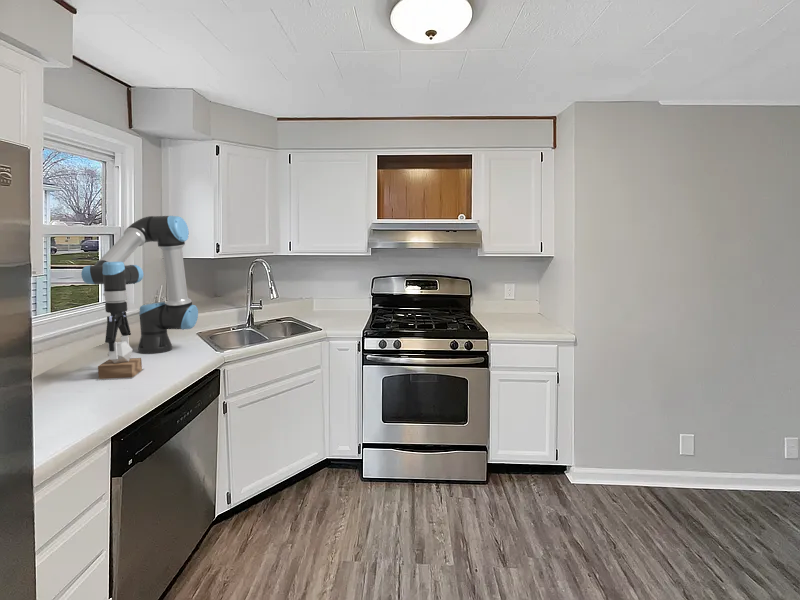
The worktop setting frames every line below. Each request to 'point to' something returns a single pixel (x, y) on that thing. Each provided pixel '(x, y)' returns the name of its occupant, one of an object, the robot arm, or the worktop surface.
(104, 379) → the base plate
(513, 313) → the worktop surface
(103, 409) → the worktop surface
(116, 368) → the walnut brick
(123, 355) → the die
